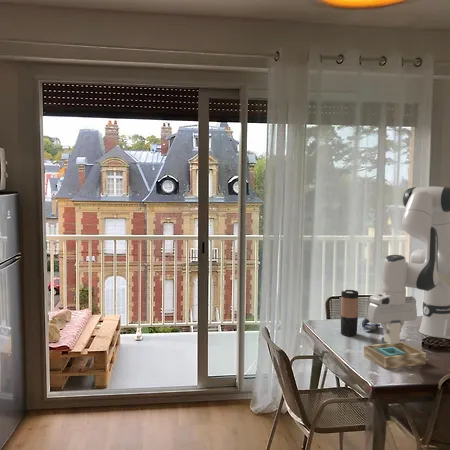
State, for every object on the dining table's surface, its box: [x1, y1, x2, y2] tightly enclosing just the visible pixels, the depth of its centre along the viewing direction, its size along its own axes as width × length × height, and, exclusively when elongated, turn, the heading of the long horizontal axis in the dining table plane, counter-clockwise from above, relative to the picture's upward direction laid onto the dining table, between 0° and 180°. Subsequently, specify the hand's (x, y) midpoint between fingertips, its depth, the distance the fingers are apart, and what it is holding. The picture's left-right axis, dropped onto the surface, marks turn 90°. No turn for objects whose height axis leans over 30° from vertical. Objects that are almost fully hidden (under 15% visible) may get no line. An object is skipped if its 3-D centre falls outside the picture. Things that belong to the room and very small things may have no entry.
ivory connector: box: [383, 320, 401, 344], centre depth 180 cm, size 4×4×9 cm
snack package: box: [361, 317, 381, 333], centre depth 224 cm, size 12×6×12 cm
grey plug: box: [381, 335, 407, 344], centre depth 198 cm, size 9×4×4 cm, turn 107°
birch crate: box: [363, 342, 427, 370], centre depth 182 cm, size 18×14×4 cm
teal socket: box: [378, 347, 406, 357], centre depth 181 cm, size 7×7×4 cm
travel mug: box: [340, 289, 359, 337], centre depth 215 cm, size 8×8×20 cm
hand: (392, 332), depth 180 cm, fingers closed on ivory connector, 4 cm apart
